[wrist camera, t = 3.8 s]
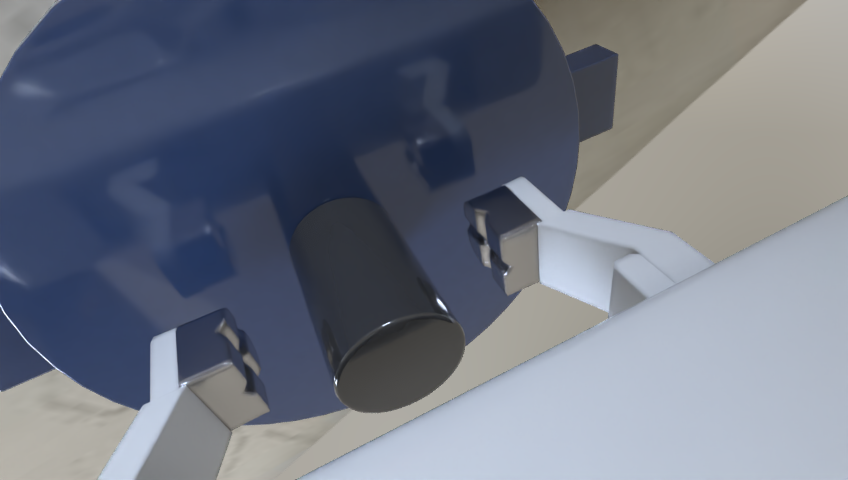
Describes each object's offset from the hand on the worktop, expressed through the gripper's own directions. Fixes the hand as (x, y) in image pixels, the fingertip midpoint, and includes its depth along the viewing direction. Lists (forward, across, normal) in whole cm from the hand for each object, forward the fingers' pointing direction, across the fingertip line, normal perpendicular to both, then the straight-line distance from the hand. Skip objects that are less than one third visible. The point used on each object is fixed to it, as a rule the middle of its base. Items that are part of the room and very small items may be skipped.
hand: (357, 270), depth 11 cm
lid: (+2, 0, 0) cm, 2 cm away
